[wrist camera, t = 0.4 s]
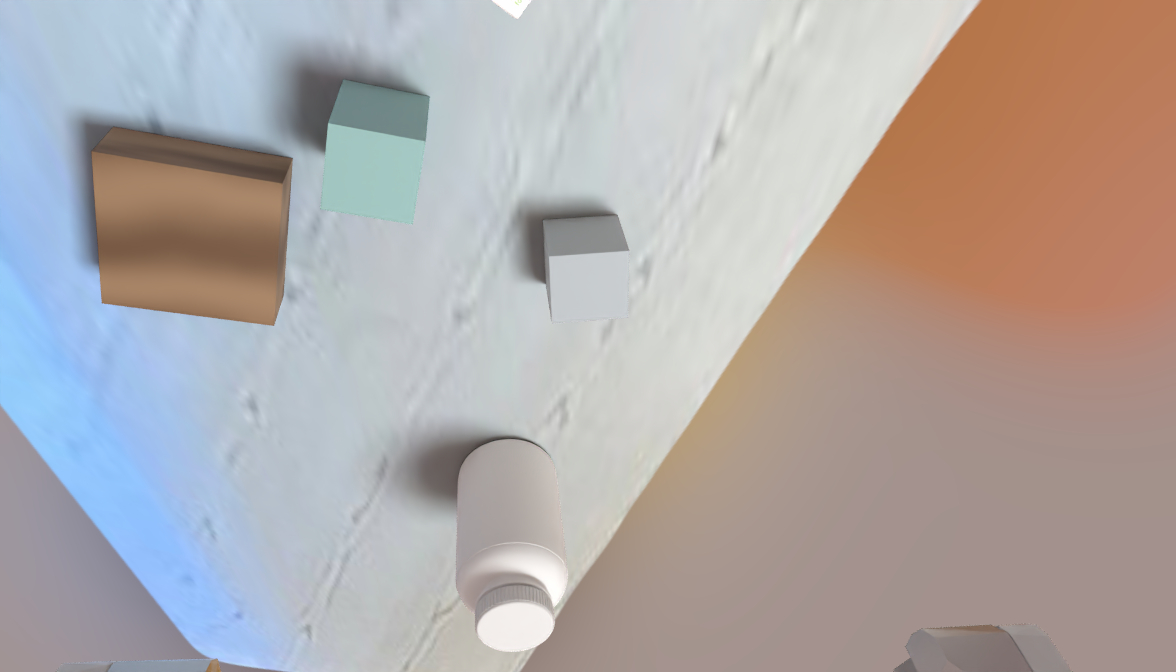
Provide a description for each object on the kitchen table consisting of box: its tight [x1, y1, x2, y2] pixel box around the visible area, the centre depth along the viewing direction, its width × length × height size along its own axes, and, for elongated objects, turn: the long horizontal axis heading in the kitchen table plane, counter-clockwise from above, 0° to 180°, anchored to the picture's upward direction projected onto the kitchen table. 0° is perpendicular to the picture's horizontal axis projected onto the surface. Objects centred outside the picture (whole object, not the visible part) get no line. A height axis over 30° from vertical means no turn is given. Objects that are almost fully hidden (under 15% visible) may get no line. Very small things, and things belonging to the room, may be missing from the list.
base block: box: [91, 127, 293, 326], centre depth 52 cm, size 10×10×4 cm
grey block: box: [543, 215, 629, 324], centre depth 56 cm, size 5×5×5 cm
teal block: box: [320, 79, 430, 224], centre depth 49 cm, size 5×5×7 cm
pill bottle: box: [456, 439, 568, 652], centre depth 63 cm, size 8×8×15 cm
